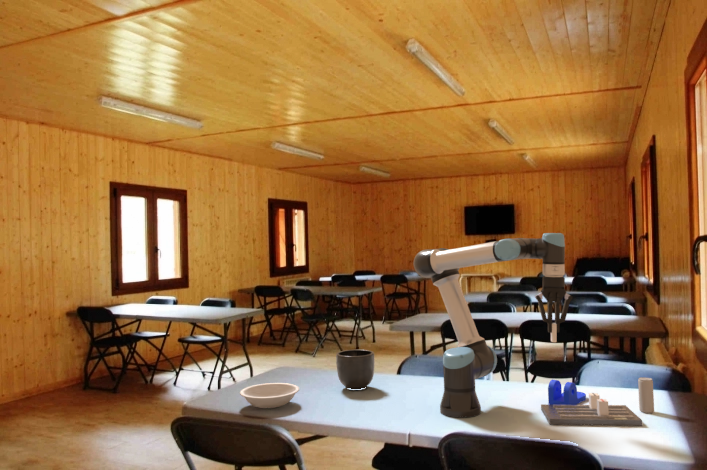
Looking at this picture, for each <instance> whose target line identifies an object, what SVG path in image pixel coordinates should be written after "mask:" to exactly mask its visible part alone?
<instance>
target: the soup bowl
mask: <svg viewBox="0 0 707 470" xmlns="http://www.w3.org/2000/svg"><path fill="white" fill-rule="evenodd" d="M299 391H300V386H298V385H296V384H292V383H286V382H268V383H260V384H259V383H258V384H253V385H249V386H246V387H244V388H243V389H240V392H239V395H240V396H242V397H243V398H244V400H245V401H247V403H248V404H250V405H251V406H253V407H255V408H260V409H274V408H278V407H283V406H285V405H286V404H288V403H290V401H292V400H293V398H294V397H295V395H296V394H297V393H298V392H299Z"/></svg>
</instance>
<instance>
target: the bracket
mask: <svg viewBox="0 0 707 470" xmlns="http://www.w3.org/2000/svg"><path fill="white" fill-rule="evenodd" d="M547 393H548V394H547V396H548V405H580V403H582V402H584V401H586V400H587V394H586V393H584V392H581V391H578V389H577V385H576V383H575V382H570V381H566V382H565V384H564V386H563V392H562V383H561V381H560V380H559V379H558V380H557V379H551V380H550V381H549V383H548V387H547Z"/></svg>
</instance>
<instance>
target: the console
mask: <svg viewBox="0 0 707 470" xmlns="http://www.w3.org/2000/svg"><path fill="white" fill-rule="evenodd" d="M540 410H541V412H542V414H543V416H545V419H546V420H547V422H548V424H549V425H551V426H595V427H596V426H602V427H603V426H608V427H611V426H612V427H614V426H615V427H643V420H642V419H641V418H640V416H638V415H637V414H636V413H634V411H633V410H631V409H630V408H629V407H628V406H627V405H625V404H624V405H623V404H620V405H619V404H617V405H616V404H614V405H613V404H608V411H609V415H598V414H597V409H591V408H590V407H589V404H577V405H550V404H540Z"/></svg>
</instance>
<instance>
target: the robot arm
mask: <svg viewBox="0 0 707 470" xmlns="http://www.w3.org/2000/svg"><path fill="white" fill-rule="evenodd" d="M565 241H566V240H565V235H564V233H561V232H557V233H556V232H545V233H543V234H542V237H541V238H533V237H532V238H528V237H516V238H509V237H508V238H504V239H500V240H496V241H489V242H484V243H479V244H474V245H473V244H472V245H468V246H462V247H457V248H456V247H455V248H450V249H448V248H441V247H440V248H432V249H430V248H428V249H423V250H421V251H418V253H416V254H415V257H414V259H413V268H414V270H415V272H416V273H417V275H418V276H420V277H422V278H424V279H425V278H426V279H431V282H432V285H433V286H436V287H437V288H438V291H439V293H440V296H441V298H442V302H443V304H444V306H445V309H446V312H447V314H448V318H449V319H450V323H451V325H452V328H453V331H454V333H455V336H456V340H457V341H458V345H457V347H451V348H448V349H446V350H445V351H444V352H443V355H442V357H443V358H442V367H443V368H442V370H443V394H442V397H441V402H440V404H439V407H440V408H439V411H440V413H441V414H443V416H448V417H454V418H471V417H477V416H479V415H480V414H481V413H482V408H481V403H480V400H479V398H478V395H477V392H476V380H477V379H480V378H483V377H487V376H488V375H490V374H491V373H492V372H494V370H495V369H496V367H497V365H498V364H497V363H498V358H497V353H496V351H495V350H494V349H493V348H492V347H491V346H489V345H488V344H487V341H486V340H485V338H484V337H482V336H480V334H479V332H478V329H477V327H476V323H475V321H474V319H473V316H472V314H471V311H470V307H469V305H468V303H467V300H466V297H465V296H464V292H463V290H462V287H461V285H460V282H459V278H460V277H461V274H460V272H459V270H460V269H462V268H468V267H475V266H480V265H487V264H493V263H501V262H507V261H513V260H514V261H515V260H528V259H530V260H531V259H535V260H537V259H538V260H541V261H542V275H543V276H542V289H541V290H540V292H539V293H538V294H535V295H534V298H535V299H536V301H537V303H538V304H537V305H538V308H539V312H540V315H541V316H540V317H541V319H542V321H543V322H544V323H547V333H550V342H551V343H557V342H558V341H557V337H558V336H557V333H560V324H562V323H564V322H566V318H567V314H568V312H569V307H570V302H571V301H572V300H573V299H574V297H573V295H570V294H568V293H567V290H566V288H565V287H566V282H565V281H566V278H565V272H566V271H565V269H566V268H565V258H566V257H565V255H566V254H565V252H566V251H565V250H566V244H565ZM543 297H544V299H545V300H546V301H547V302H546V304H547V309H545V306H544V302H543ZM563 299H564V301H563V306H562V311H561V309H560V308H561V307H560V306H561V302H562V300H563ZM553 304H554V322H553ZM546 311H547V313H546ZM546 314H547V315H546ZM560 314H561V315H560Z"/></svg>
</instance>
